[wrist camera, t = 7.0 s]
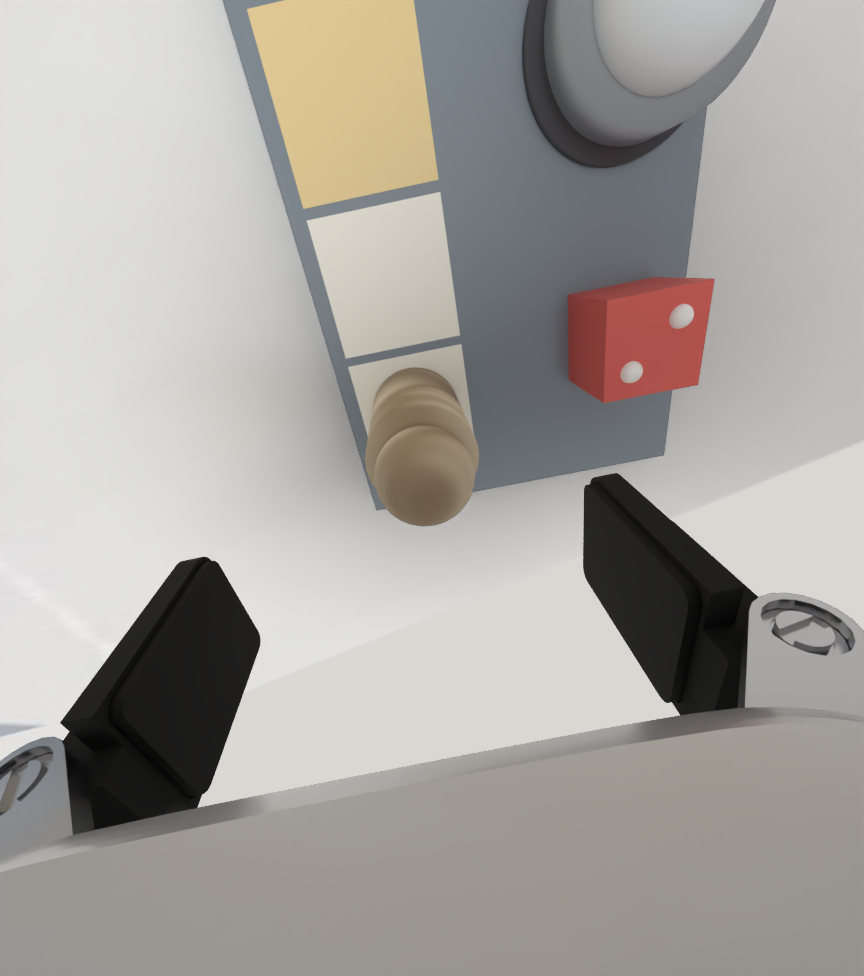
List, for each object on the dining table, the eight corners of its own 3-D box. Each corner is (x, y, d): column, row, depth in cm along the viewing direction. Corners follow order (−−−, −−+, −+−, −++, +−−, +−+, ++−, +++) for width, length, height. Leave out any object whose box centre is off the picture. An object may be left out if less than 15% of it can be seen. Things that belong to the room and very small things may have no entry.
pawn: (453, 360, 19) (491, 427, 11) (461, 442, 21) (499, 545, 14) (364, 375, 19) (342, 451, 11) (382, 455, 21) (374, 565, 14)
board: (737, -328, 11) (986, -770, 7) (654, 446, 24) (719, 492, 19) (175, -186, 12) (19, -499, 7) (377, 499, 24) (371, 558, 19)
